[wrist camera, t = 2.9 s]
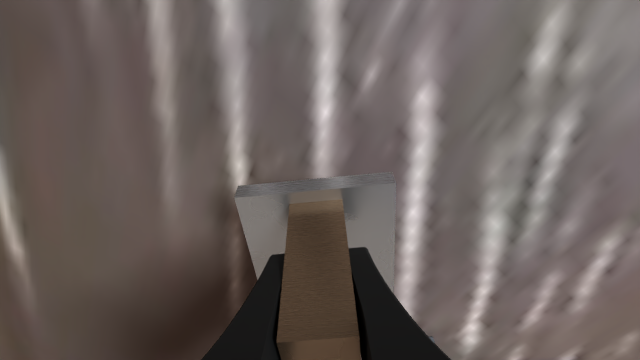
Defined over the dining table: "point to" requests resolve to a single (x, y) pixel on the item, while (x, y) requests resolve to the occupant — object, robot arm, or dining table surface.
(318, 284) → the trowel
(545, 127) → the dining table surface
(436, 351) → the robot arm
